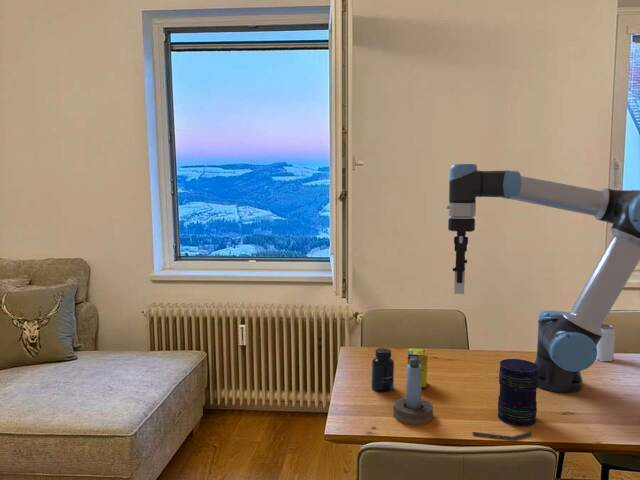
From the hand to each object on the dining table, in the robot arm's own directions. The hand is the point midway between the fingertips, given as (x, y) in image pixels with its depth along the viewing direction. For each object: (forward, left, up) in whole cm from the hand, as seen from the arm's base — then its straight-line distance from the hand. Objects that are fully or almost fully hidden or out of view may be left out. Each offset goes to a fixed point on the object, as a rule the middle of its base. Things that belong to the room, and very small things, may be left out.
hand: (459, 289), depth 156 cm
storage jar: (-16, +14, -32) cm, 38 cm away
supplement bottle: (+22, +3, -32) cm, 39 cm away
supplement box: (+12, -2, -32) cm, 34 cm away
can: (-50, -44, -32) cm, 74 cm away
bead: (+11, +20, -32) cm, 39 cm away
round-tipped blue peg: (+11, +20, -32) cm, 39 cm away
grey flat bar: (-12, +25, -32) cm, 42 cm away
